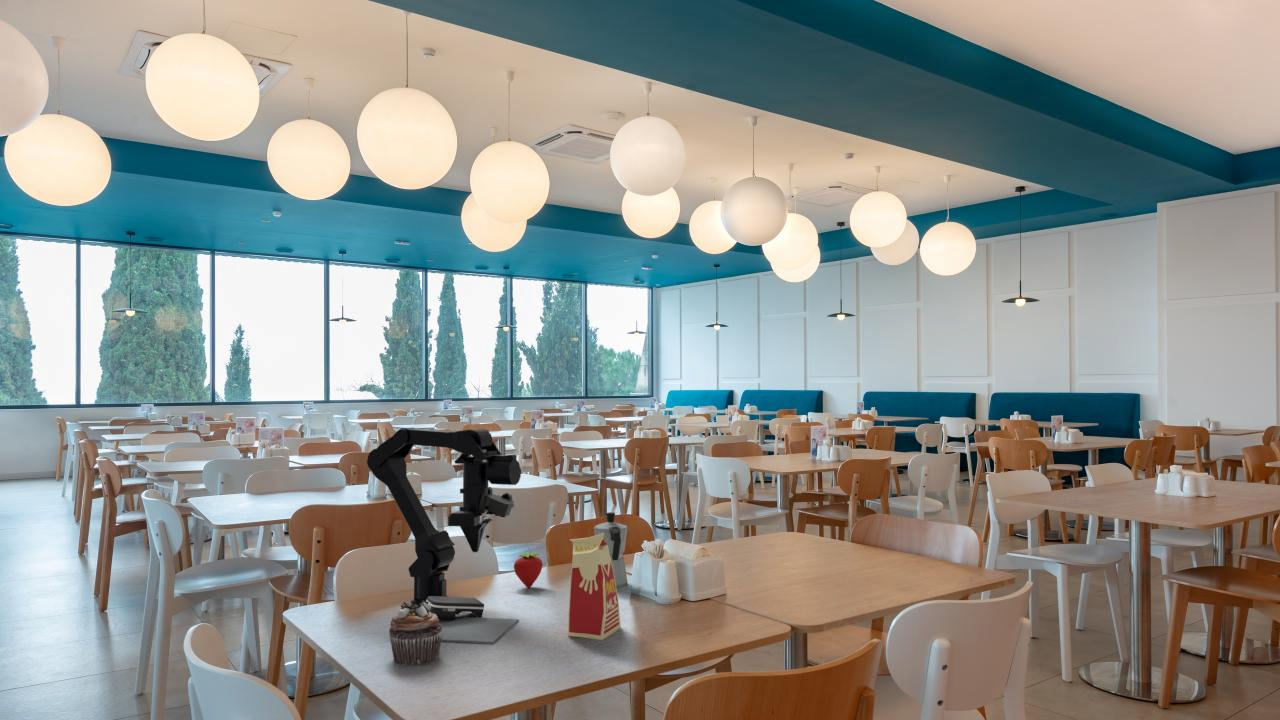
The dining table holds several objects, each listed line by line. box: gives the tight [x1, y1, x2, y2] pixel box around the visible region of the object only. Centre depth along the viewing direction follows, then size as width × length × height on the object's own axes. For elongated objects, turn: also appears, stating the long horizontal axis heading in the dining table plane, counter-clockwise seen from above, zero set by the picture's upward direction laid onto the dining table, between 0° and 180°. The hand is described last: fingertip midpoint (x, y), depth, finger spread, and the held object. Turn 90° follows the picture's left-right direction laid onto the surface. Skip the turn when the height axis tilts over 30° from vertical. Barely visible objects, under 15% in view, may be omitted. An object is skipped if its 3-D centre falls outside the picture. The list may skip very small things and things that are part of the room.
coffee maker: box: [593, 511, 629, 588], centre depth 204 cm, size 15×9×18 cm, turn 14°
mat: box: [439, 615, 520, 645], centre depth 165 cm, size 18×16×1 cm
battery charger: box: [426, 596, 485, 620], centre depth 173 cm, size 7×4×11 cm
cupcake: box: [388, 600, 444, 666], centre depth 148 cm, size 10×10×10 cm
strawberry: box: [513, 546, 544, 588], centre depth 201 cm, size 6×8×10 cm
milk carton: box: [567, 533, 622, 641], centre depth 164 cm, size 9×9×20 cm
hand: (475, 552), depth 185 cm, fingers closed
